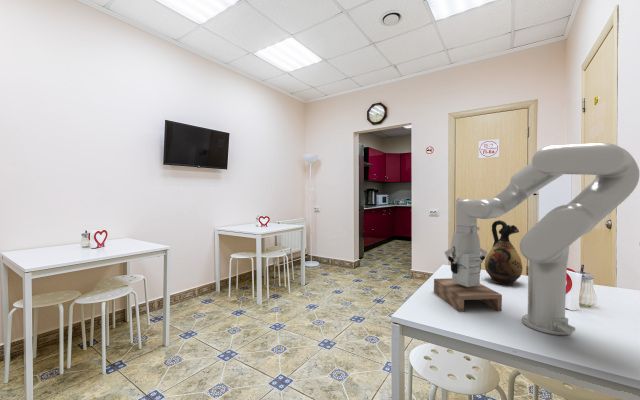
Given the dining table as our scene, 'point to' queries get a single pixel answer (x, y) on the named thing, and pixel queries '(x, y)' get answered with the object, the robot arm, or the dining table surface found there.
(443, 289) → the walnut shelf
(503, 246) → the ceramic jug
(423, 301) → the dining table surface
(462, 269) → the supplement box
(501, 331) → the dining table surface
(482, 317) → the dining table surface
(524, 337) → the dining table surface
